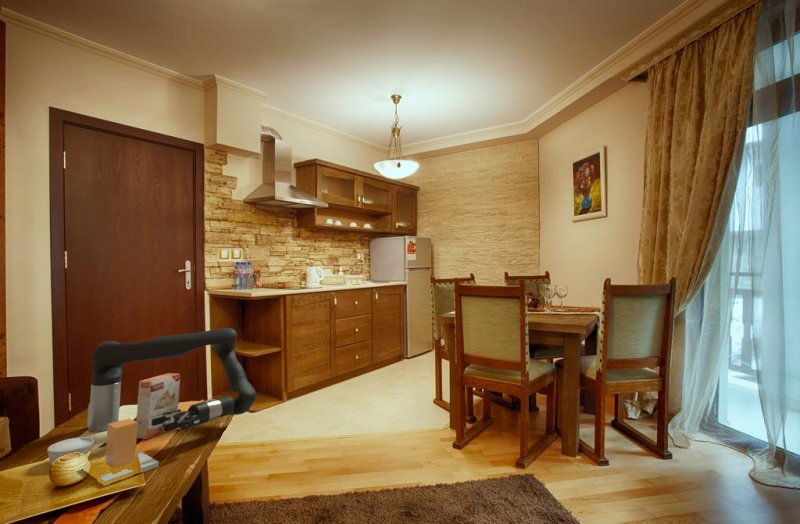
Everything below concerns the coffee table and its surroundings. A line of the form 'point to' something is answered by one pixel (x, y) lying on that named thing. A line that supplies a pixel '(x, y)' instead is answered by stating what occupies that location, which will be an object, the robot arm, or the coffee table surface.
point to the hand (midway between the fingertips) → (158, 425)
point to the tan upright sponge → (121, 443)
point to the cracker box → (156, 402)
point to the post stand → (145, 463)
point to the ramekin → (70, 447)
